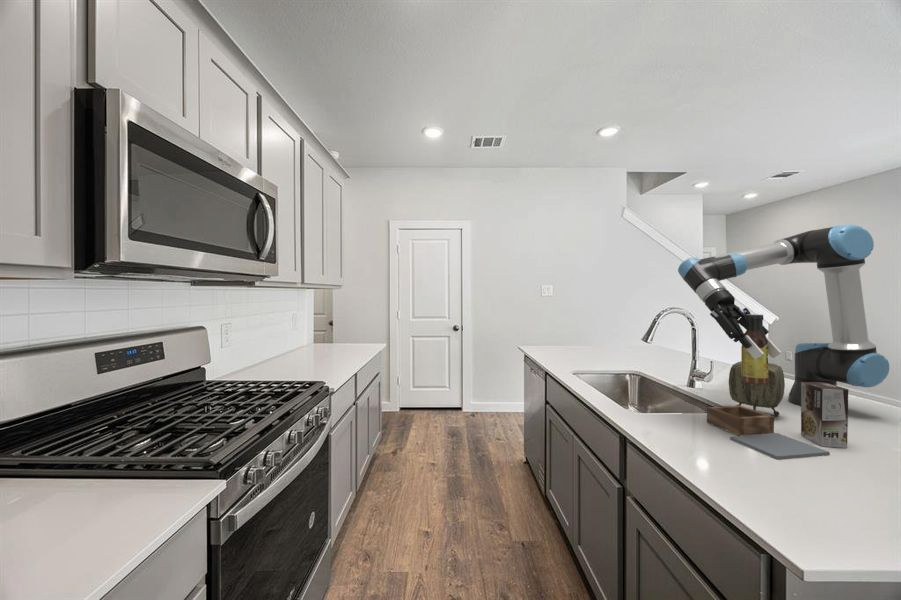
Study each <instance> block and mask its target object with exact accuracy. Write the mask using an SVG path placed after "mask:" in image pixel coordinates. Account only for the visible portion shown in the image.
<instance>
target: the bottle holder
mask: <svg viewBox="0 0 901 600" xmlns="http://www.w3.org/2000/svg"><path fill="white" fill-rule="evenodd" d="M706 423H707V424H709V425H712V426H713V427H714V426H715V427H717V428H720V429H721V428H722V430H723V431H724V430H725V431H726V430H727V432H729V433H731V432H732V434H734V435H735V436H740V435H743V436H745V435H758V434H772V433H775V415H774V416H773V415H771V414H767V413H764V412H761V411H758V410H756V411H755V410H753V409H752V408H749V407H745V406H743V405H741V406H740V405H739V404H736V405H726V406H725V405H724V406H723V405H722V406H720V405H719V406H708V407H706Z"/></svg>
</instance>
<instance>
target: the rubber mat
mask: <svg viewBox="0 0 901 600" xmlns="http://www.w3.org/2000/svg"><path fill="white" fill-rule="evenodd" d="M729 439H730V440H731V441H733V442H736V443H738V444H740V445H742V446H745V447H747V448H750V449H752V450H754V451H757V452H758V453H761V454H763V455H766V456H768V457H771V458H773V459H775V460H786V459H787V460H789V459H797V458H798V459H799V458H810V457H812V456H813V457H821V456H822V455H824V456H830V455H831V453H830V451H828V450H825V449H822V448H820V447H817V446H814V445H811V444H808V443H805V442H804V441H800V440H797V439H795V438H792V437H789V436H786V435H785V434H781V433H779V432H774V433H769V434H756V435H743V436H739V435H735V436H730V437H729Z"/></svg>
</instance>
